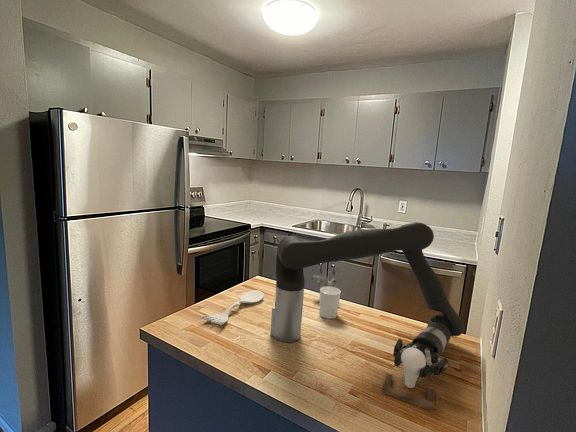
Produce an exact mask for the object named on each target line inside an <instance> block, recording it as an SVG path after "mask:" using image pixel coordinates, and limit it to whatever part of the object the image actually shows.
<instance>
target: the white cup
mask: <svg viewBox="0 0 576 432" xmlns="http://www.w3.org/2000/svg"><path fill="white" fill-rule="evenodd" d="M341 293H342V291H341V290H340V289H339V288H338V287H334V286H333V287H329V286H326V287H322V288H320V287H319V313H318V314H319V316H321V317H322V318H324V319H329V320H331V319H335V318H337V316H338V310H339V305H340V300H341Z"/></svg>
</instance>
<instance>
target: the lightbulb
mask: <svg viewBox="0 0 576 432" xmlns="http://www.w3.org/2000/svg"><path fill="white" fill-rule="evenodd" d="M403 350H404V349H403ZM401 362H402V363H401V364H402V367H403V370H404V373H403V375H404V385H405V386H406V387H407V388H409V389H413V388H415V385H416V383H417V382H416V381H417V380H418V377H419V375H420V370H421V369H422V368H424V367H425V366H426V358H425V356H424V354H423V353H422V352H421V351H420V350H419V349H417V348H413V347H410V348H407V349H405V350H404V351H403V352H402V354H401Z"/></svg>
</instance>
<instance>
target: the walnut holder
mask: <svg viewBox="0 0 576 432" xmlns="http://www.w3.org/2000/svg"><path fill="white" fill-rule="evenodd" d="M392 380H393V374H392V373H391V374H390V373H388V372H387V373H386V375H385V378H384V382H383V385H382V388H381V389H382V391H381V392H382V393H383V394H385V395H388V396H391V397H394V398H396V399H398V400H402V401H404V402H407V403H410V404H412V405H415V406H417V407H420V408H423V409H426V410H428V411H432V412H434V409H435V388H433V387H429V386H428V387H427V393H426V394H427V395H426V396H427V397H426V399H424V398H422V397H419V396H416V395H414V394H410V393H408V392H405V391H402V390H399V389H397V388H395V387H394V388H393V387H391V384H392ZM382 393H381V394H382Z"/></svg>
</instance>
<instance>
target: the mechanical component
mask: <svg viewBox="0 0 576 432" xmlns="http://www.w3.org/2000/svg"><path fill="white" fill-rule="evenodd" d="M336 280H337V279H335V278H333V277H332V279H331V280H329V279H328V277H327V276H325V275H318V274H317V275H316V274H314V275H312V276H311V281H312V283H313V286H315V287H319V289H320V288H322V287H326V286H329V287H334V284H336V282H337V281H336Z"/></svg>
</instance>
